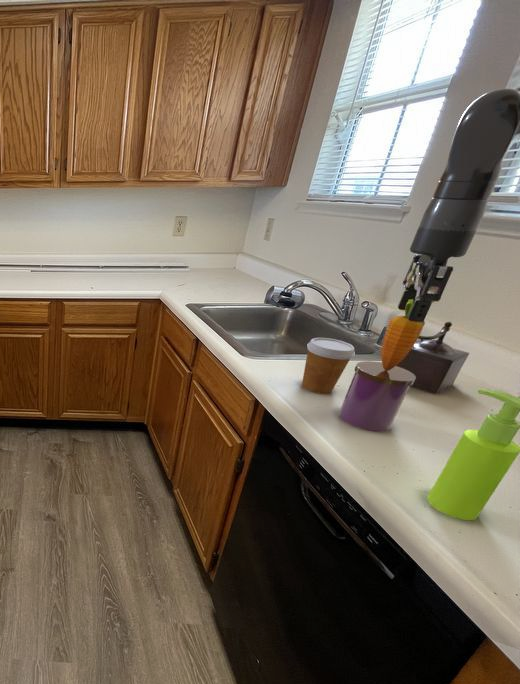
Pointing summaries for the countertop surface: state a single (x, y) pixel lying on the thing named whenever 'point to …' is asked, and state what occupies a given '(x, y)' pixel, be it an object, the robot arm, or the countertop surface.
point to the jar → (375, 396)
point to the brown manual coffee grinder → (434, 362)
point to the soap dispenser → (478, 462)
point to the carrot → (399, 338)
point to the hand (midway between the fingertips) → (409, 315)
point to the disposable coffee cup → (325, 364)
